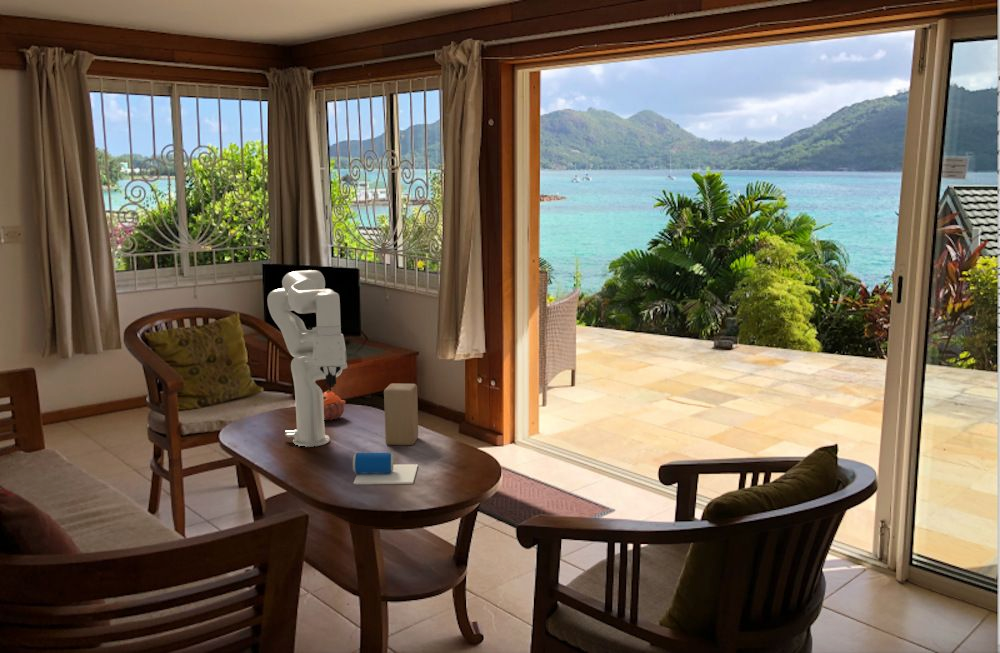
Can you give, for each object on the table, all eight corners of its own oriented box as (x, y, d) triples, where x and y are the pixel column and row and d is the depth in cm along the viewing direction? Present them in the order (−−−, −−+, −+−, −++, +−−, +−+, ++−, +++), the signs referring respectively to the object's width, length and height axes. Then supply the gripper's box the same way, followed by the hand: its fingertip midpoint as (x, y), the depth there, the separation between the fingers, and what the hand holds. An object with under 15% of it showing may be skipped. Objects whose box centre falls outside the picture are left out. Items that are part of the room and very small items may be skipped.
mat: (353, 484, 253) (353, 482, 253) (362, 466, 269) (361, 464, 269) (412, 483, 253) (412, 482, 253) (417, 466, 269) (417, 464, 269)
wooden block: (418, 437, 299) (417, 383, 295) (413, 446, 289) (411, 390, 285) (391, 436, 300) (389, 382, 296) (385, 445, 290) (383, 389, 286)
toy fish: (335, 414, 330) (333, 385, 328) (351, 419, 323) (349, 390, 321) (309, 420, 321) (307, 391, 319) (324, 425, 314) (323, 396, 312)
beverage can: (351, 470, 256) (390, 470, 256) (353, 450, 259) (391, 449, 259) (355, 476, 262) (393, 476, 262) (356, 456, 265) (394, 456, 265)
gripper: (302, 333, 263) (305, 389, 267) (350, 332, 263) (352, 389, 267) (308, 328, 271) (310, 383, 274) (354, 328, 271) (356, 383, 274)
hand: (331, 386), depth 270 cm, fingers closed
